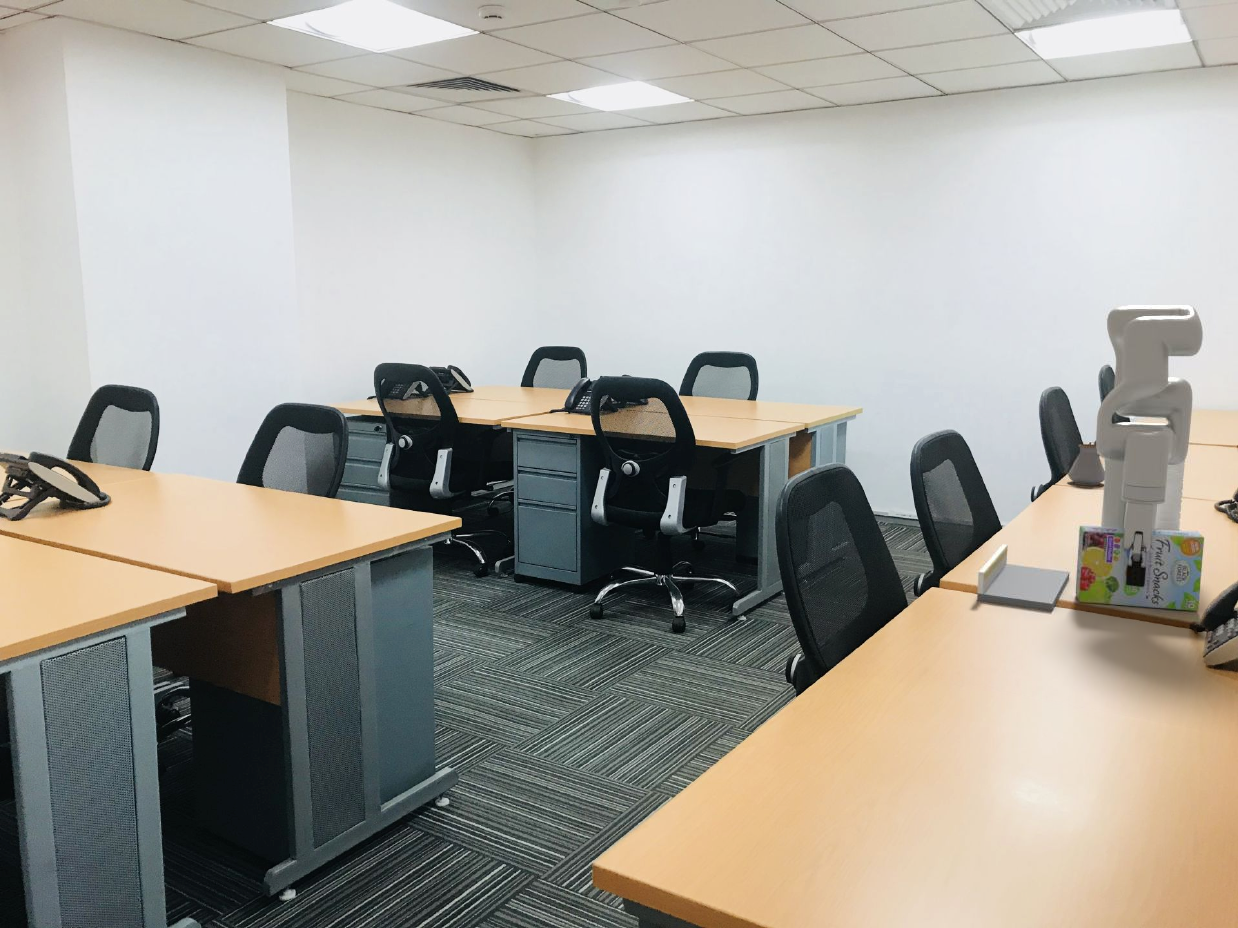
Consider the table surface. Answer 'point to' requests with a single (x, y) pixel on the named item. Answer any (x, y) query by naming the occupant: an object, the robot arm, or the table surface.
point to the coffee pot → (1087, 467)
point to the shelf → (1019, 583)
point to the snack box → (1166, 566)
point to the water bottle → (1171, 499)
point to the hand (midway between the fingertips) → (1136, 580)
